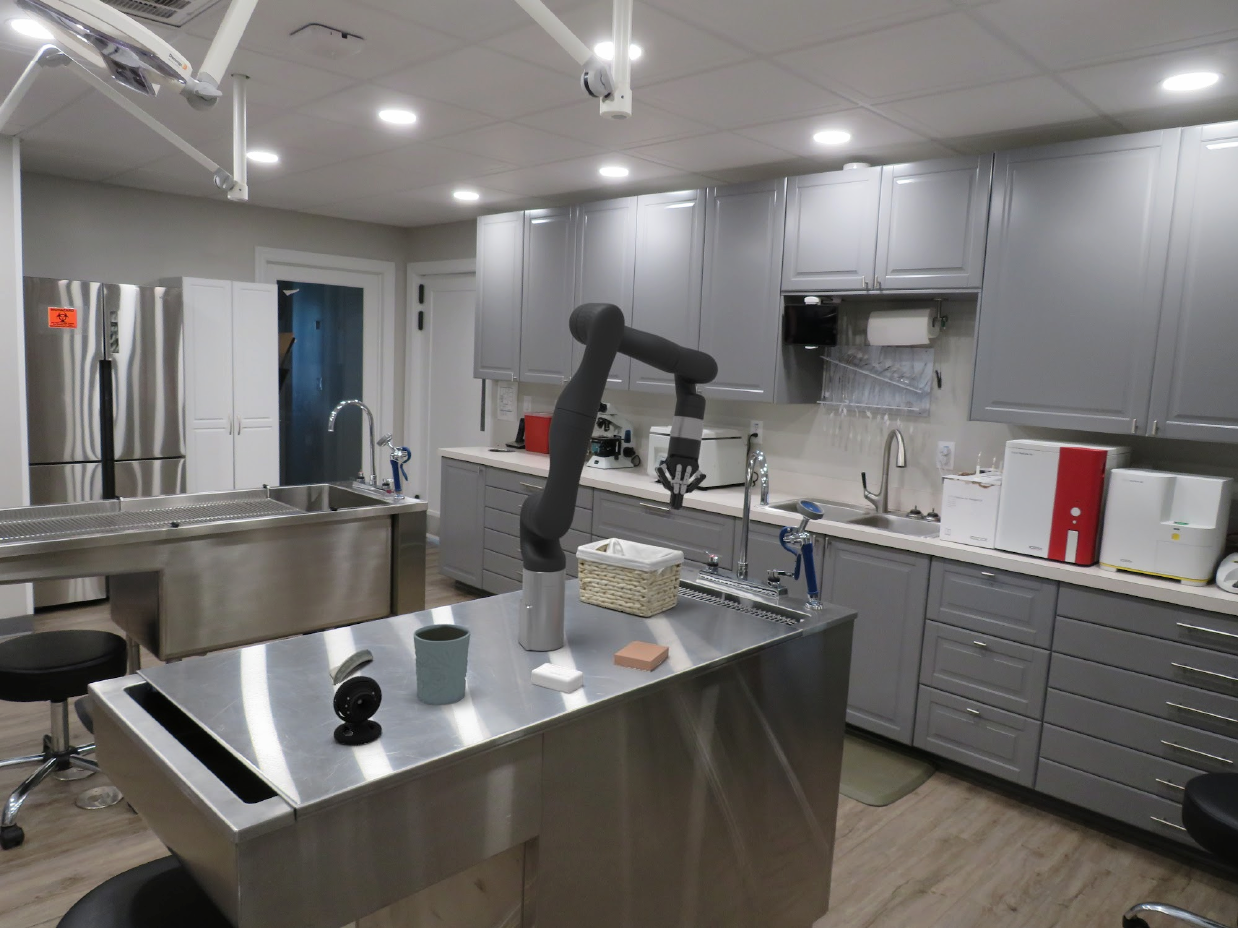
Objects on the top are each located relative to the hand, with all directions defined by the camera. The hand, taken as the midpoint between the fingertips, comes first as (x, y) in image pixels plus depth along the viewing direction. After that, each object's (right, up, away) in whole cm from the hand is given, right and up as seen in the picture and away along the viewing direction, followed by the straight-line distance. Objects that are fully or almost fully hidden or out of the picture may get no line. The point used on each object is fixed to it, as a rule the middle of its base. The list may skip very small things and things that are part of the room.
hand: (675, 509), depth 197 cm
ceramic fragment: (-66, -30, -35) cm, 80 cm away
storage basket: (-11, -26, +16) cm, 32 cm away
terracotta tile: (-6, -29, -19) cm, 35 cm away
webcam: (-56, -34, -61) cm, 90 cm away
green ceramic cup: (-46, -32, -44) cm, 71 cm away
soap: (-25, -32, -37) cm, 55 cm away
